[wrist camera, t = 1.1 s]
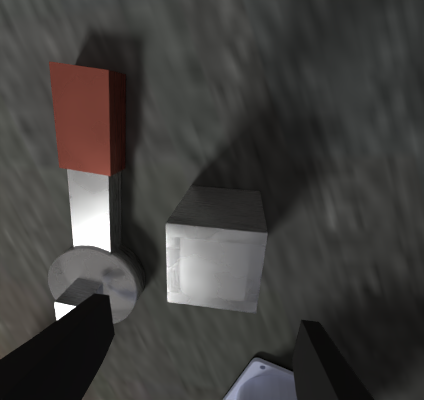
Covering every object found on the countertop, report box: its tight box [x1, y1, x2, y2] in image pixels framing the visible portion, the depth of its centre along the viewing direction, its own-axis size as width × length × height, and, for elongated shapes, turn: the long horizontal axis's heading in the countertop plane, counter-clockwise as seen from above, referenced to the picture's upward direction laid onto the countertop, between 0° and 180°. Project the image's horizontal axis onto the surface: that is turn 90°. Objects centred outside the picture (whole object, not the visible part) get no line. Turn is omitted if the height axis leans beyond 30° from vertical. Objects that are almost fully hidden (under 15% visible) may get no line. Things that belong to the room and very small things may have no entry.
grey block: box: [166, 185, 268, 313], centre depth 15 cm, size 5×5×6 cm
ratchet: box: [48, 62, 145, 324], centre depth 17 cm, size 19×7×5 cm, turn 172°
